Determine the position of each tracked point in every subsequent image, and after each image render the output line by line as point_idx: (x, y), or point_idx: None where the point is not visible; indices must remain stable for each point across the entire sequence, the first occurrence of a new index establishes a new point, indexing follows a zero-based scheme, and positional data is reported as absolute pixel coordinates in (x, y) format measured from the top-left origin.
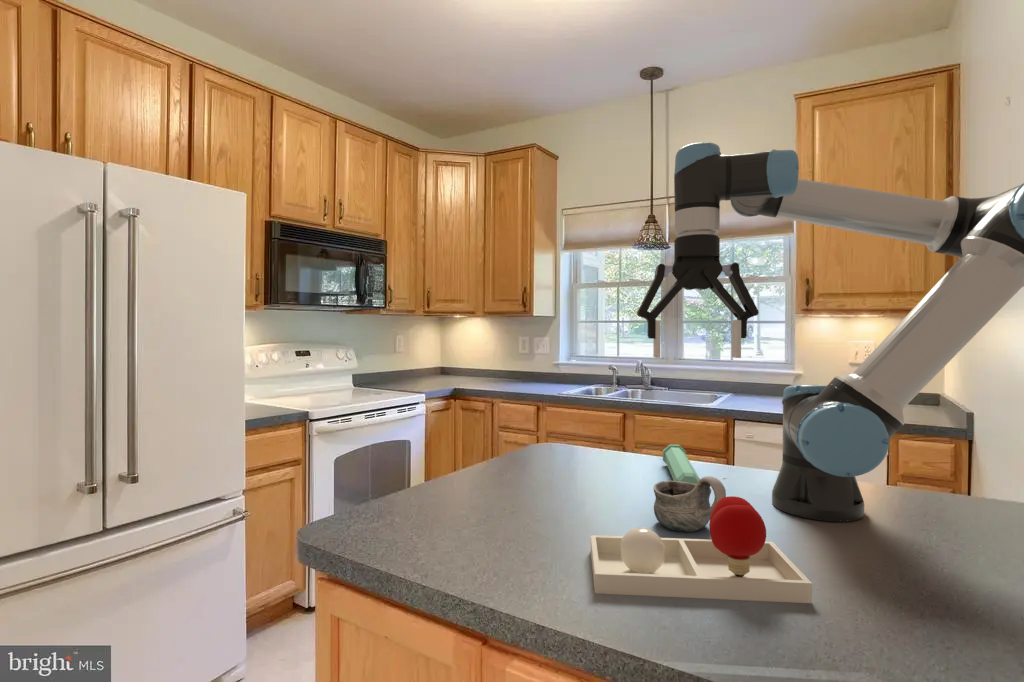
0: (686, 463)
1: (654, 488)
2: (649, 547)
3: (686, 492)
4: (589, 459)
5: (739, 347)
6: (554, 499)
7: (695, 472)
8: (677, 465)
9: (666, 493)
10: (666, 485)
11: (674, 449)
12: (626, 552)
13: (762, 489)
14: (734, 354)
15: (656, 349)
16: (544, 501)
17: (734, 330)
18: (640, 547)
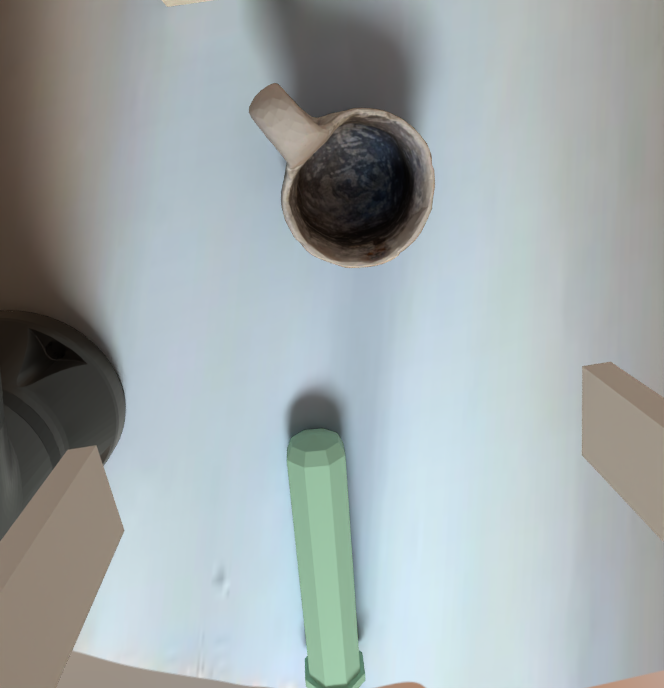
0: (316, 546)
1: (432, 176)
2: None
3: (340, 246)
4: (539, 652)
5: (49, 488)
6: (635, 322)
7: (295, 508)
8: (339, 535)
9: (391, 232)
10: (394, 241)
11: (338, 666)
12: None
13: (137, 514)
14: (101, 494)
15: (640, 382)
16: (659, 301)
17: (32, 623)
18: None
